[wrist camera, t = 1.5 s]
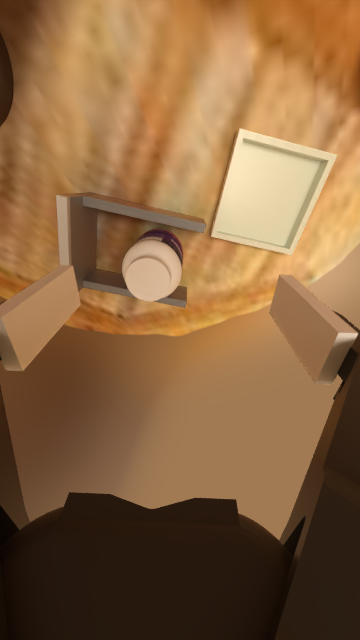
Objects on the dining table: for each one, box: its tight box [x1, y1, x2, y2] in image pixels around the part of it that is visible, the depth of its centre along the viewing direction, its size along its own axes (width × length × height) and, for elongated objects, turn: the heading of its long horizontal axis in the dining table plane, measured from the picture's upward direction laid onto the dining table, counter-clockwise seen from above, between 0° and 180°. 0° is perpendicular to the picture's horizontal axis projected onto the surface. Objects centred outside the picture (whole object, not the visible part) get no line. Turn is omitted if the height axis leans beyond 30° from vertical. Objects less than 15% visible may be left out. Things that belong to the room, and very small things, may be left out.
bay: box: [56, 193, 206, 308], centre depth 35 cm, size 18×13×11 cm
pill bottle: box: [122, 229, 183, 301], centre depth 34 cm, size 8×8×14 cm
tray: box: [210, 129, 337, 255], centre depth 35 cm, size 14×14×2 cm
